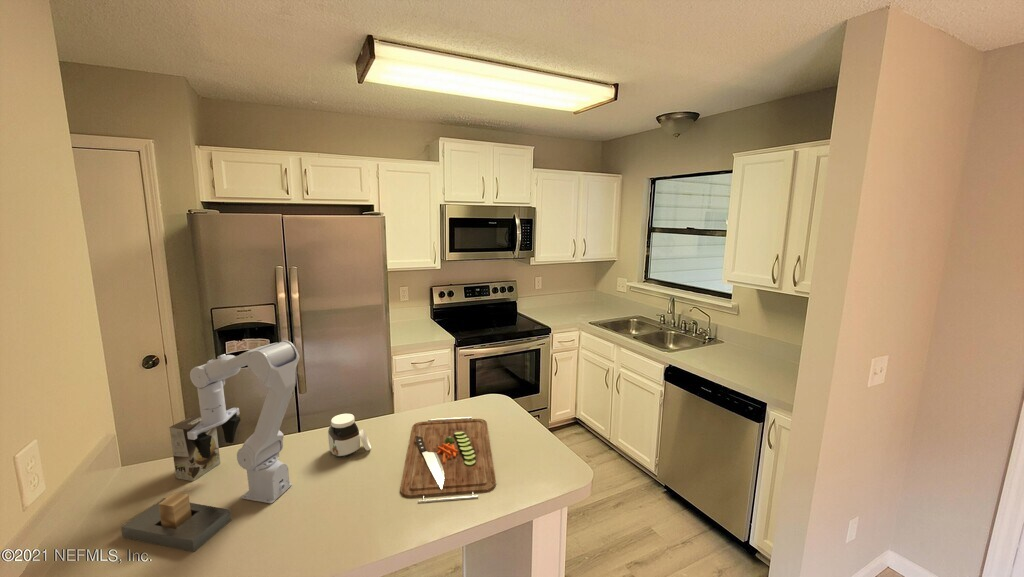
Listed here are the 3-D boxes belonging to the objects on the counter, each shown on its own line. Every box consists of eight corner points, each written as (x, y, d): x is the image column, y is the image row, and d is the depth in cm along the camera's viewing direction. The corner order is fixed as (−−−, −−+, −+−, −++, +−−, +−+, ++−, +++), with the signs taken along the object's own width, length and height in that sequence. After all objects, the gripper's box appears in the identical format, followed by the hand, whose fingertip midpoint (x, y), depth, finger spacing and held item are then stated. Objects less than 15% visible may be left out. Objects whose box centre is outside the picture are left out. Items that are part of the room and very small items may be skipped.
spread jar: (325, 451, 134) (323, 417, 132) (358, 437, 142) (356, 405, 140) (344, 466, 126) (342, 431, 124) (377, 450, 134) (375, 417, 132)
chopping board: (497, 498, 114) (498, 488, 113) (397, 506, 110) (397, 496, 109) (485, 418, 157) (485, 410, 157) (413, 422, 154) (413, 414, 153)
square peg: (192, 523, 102) (188, 495, 101) (177, 536, 98) (172, 506, 97) (179, 521, 103) (174, 492, 101) (163, 533, 99) (158, 504, 98)
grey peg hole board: (231, 520, 104) (230, 509, 103) (194, 551, 94) (192, 540, 93) (165, 508, 107) (163, 498, 107) (123, 537, 98) (121, 526, 97)
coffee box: (193, 481, 118) (186, 429, 115) (175, 478, 119) (167, 427, 116) (221, 463, 127) (215, 414, 124) (204, 460, 128) (197, 411, 125)
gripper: (223, 392, 123) (228, 434, 125) (175, 415, 109) (181, 462, 111) (243, 394, 121) (248, 437, 124) (197, 418, 107) (204, 466, 110)
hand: (218, 449), depth 117 cm, fingers open, 7 cm apart
